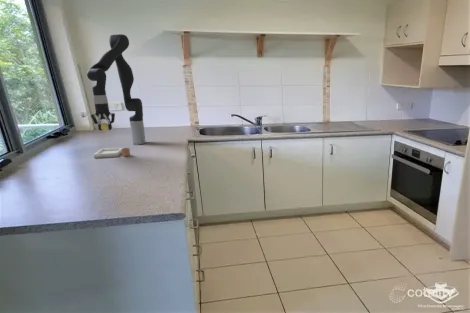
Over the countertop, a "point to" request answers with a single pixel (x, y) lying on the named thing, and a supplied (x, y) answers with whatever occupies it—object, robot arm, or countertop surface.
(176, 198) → the countertop surface
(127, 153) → the cup
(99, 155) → the tray
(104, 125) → the ball
